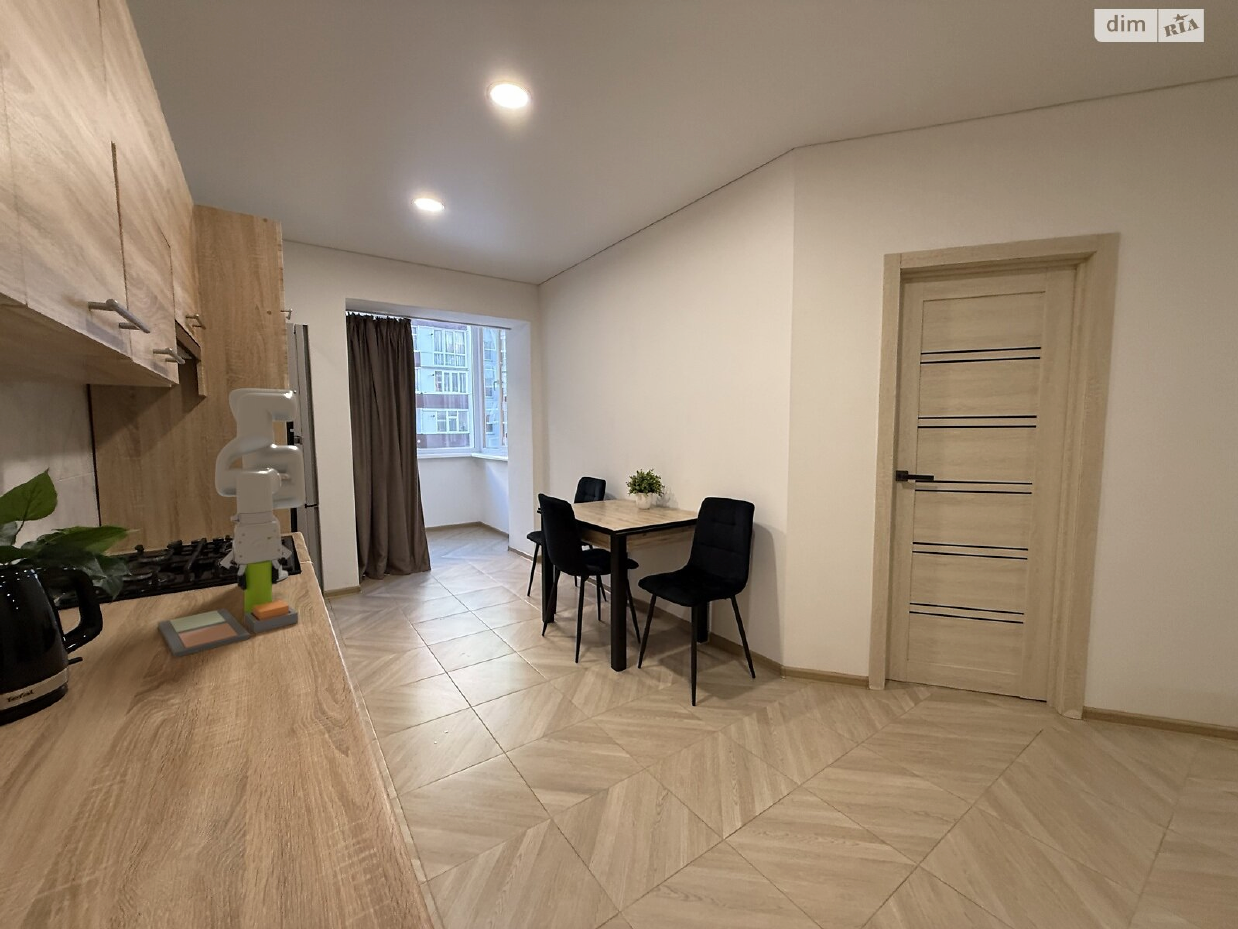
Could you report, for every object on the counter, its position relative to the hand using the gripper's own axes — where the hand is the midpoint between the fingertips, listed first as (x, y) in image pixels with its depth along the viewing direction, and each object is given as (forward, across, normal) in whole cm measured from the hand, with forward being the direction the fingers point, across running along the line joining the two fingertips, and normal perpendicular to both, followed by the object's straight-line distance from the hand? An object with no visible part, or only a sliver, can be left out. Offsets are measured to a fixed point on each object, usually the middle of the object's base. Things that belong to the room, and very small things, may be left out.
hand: (258, 585), depth 133 cm
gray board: (+7, -13, -7) cm, 16 cm away
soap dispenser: (+7, 0, 0) cm, 7 cm away
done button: (+4, 0, -12) cm, 13 cm away
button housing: (+7, 0, -12) cm, 14 cm away
